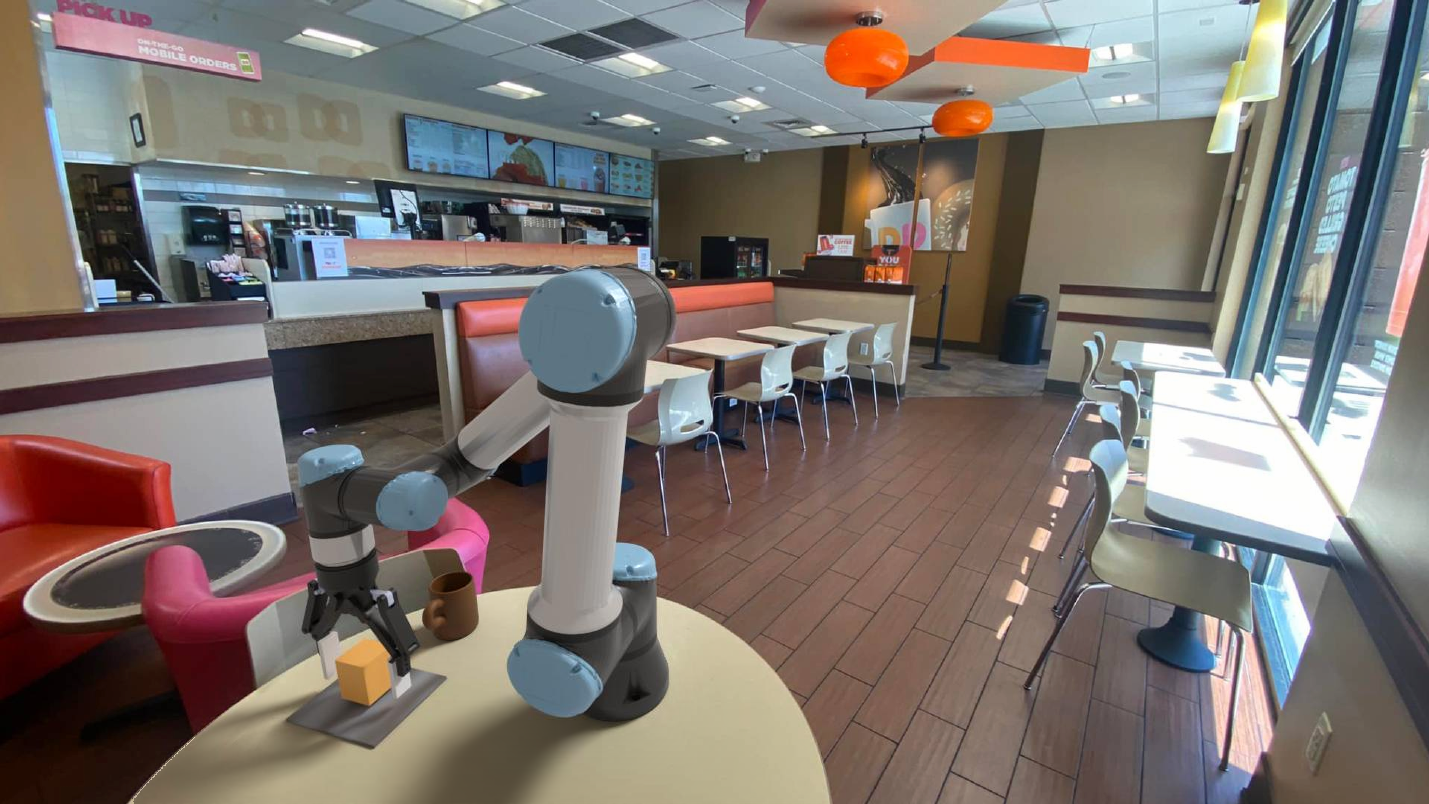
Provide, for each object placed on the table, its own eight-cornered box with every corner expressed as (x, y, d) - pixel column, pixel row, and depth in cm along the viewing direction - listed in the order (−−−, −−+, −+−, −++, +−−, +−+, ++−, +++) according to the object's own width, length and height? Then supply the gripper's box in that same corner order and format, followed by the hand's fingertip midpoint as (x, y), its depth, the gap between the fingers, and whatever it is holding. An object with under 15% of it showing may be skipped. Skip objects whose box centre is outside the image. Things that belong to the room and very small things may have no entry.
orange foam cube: (369, 705, 86) (363, 667, 84) (341, 698, 88) (334, 660, 86) (397, 681, 91) (391, 644, 89) (370, 674, 92) (364, 638, 91)
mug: (450, 660, 98) (444, 611, 95) (408, 656, 99) (401, 607, 96) (487, 617, 109) (482, 571, 107) (449, 613, 110) (443, 568, 108)
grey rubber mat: (446, 678, 94) (441, 638, 92) (374, 748, 81) (366, 703, 79) (367, 658, 98) (360, 619, 96) (286, 721, 85) (276, 677, 83)
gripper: (436, 554, 83) (452, 682, 89) (304, 529, 90) (327, 650, 95) (394, 582, 76) (414, 719, 82) (254, 553, 83) (282, 682, 88)
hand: (367, 682), depth 89 cm, fingers open, 12 cm apart
